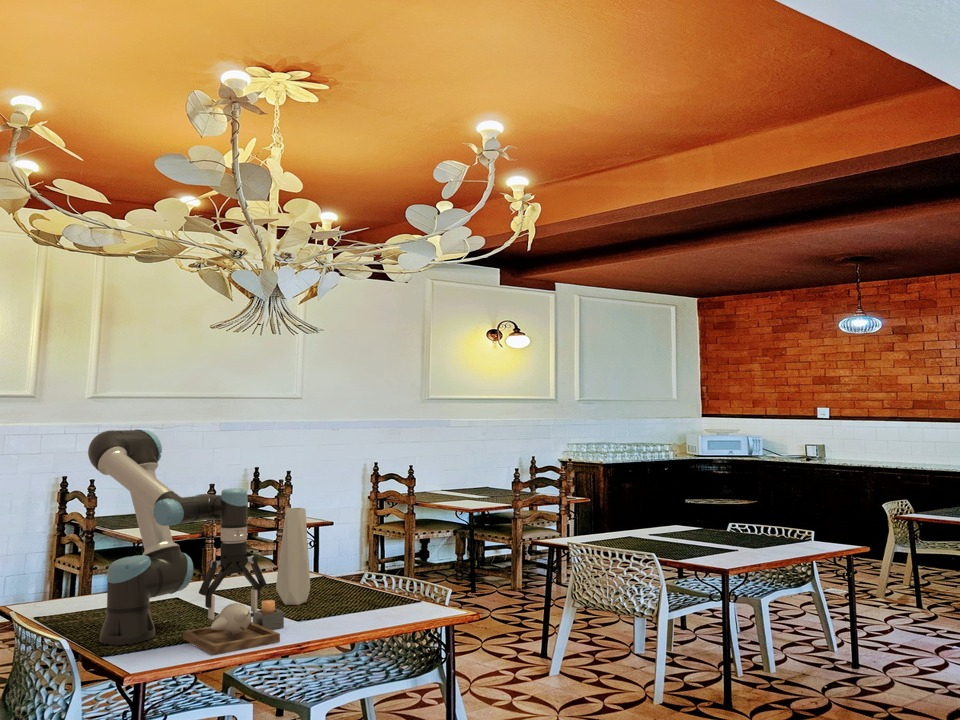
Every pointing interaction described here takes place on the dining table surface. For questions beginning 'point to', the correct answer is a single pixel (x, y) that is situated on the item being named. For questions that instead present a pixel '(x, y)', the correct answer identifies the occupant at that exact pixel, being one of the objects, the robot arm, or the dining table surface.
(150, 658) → the dining table surface
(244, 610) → the toy
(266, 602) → the orange block
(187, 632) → the tray
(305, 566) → the vase
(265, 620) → the housing
